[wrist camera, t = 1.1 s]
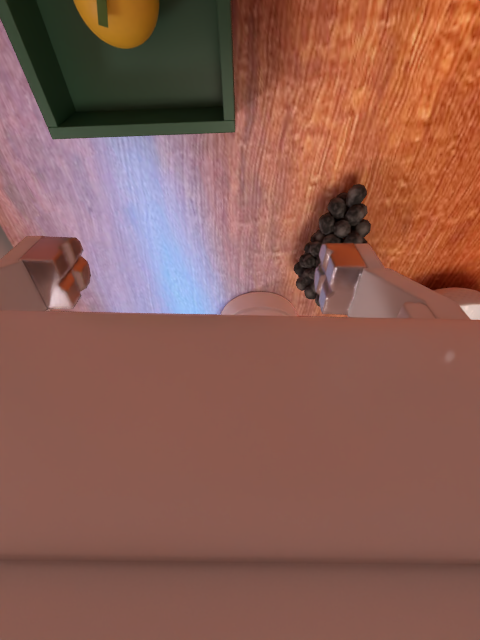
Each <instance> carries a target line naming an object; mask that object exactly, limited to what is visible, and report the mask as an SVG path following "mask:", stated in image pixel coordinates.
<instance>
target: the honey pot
mask: <svg viewBox="0 0 480 640" xmlns="http://www.w3.org/2000/svg"><path fill="white" fill-rule="evenodd" d="M221 315H264V316H297V313H296V310H295V307H294V306H293V305H292V304H291V302H290V301H288V300H287V299H285V298H284V297H282V296H280V295H277V294H274V293H269V292H251V293H247V294H243V295H240V296H238V297H236V298H234V299H232V300H231V301H230V302H229V303H228V304H227V305H226V306H225V307H224V309H223V310H222V312H221Z"/></svg>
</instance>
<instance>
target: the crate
mask: <svg viewBox="0 0 480 640" xmlns="http://www.w3.org/2000/svg"><path fill="white" fill-rule="evenodd" d="M0 18H1V21H2V23H3V25H4V28H5V30H6V32H7V35H8V37H9V39H10V42H11V44H12V46H13V48H14V51H15V53H16V55H17V58H18V60H19V62H20V65H21V67H22V69H23V72H24V74H25V76H26V78H27V81H28V83H29V85H30V88H31V90H32V92H33V95H34V97H35V99H36V102H37V104H38V106H39V108H40V111H41V113H42V115H43V118H44V120H45V122H46V125H47V127H48V129H49V132H50V134H51V136H52V139H71V138H97V137H123V136H149V135H176V134H202V133H228V132H235V93H234V65H233V37H232V10H231V0H159V14H158V19H157V23H156V26H155V28H154V30H153V32H152V34H151V35H150V37H149V38H148V39H147V40H146V41H145V42H144V43H143V44H141V45H139V46H138V47H134V48H129V49H122V48H117V47H114V46H111V45H109V44H108V43H106V42H104V41H103V40H101V39H100V38H99V37H97V36H96V35H95V34H94V33H93V32H92V31H91V30H90V28H89V27H88V26H87V25H86V23H85V22H84V20H83V19H82V17H81V16H80V14H79V12H78V10H77V8H76V5H75V3H74V1H73V0H0Z"/></svg>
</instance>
